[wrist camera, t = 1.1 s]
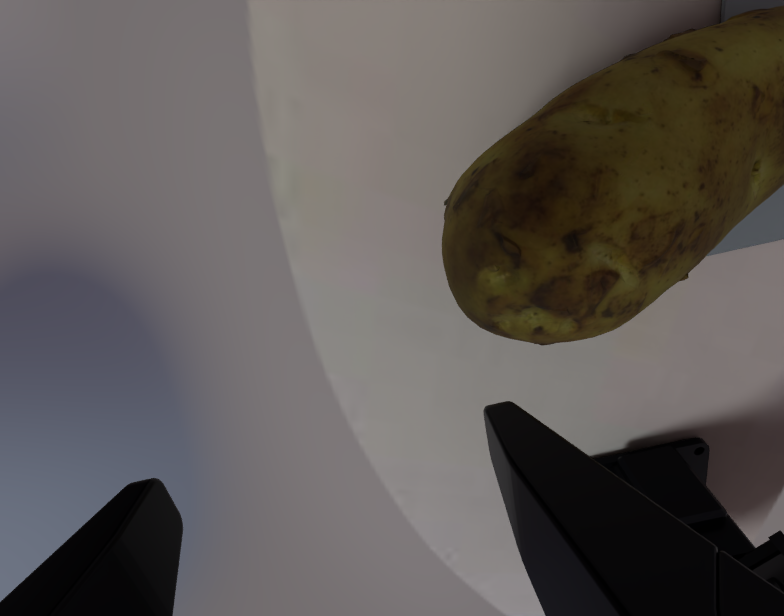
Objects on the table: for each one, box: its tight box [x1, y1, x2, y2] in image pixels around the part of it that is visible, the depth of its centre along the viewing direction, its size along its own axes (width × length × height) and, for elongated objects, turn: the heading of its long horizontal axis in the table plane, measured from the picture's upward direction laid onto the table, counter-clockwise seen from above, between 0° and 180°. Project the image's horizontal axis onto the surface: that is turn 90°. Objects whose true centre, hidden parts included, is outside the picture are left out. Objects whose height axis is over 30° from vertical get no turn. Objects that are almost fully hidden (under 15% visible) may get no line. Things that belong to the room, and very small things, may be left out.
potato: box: [442, 5, 784, 345], centre depth 16 cm, size 8×13×8 cm, turn 98°
